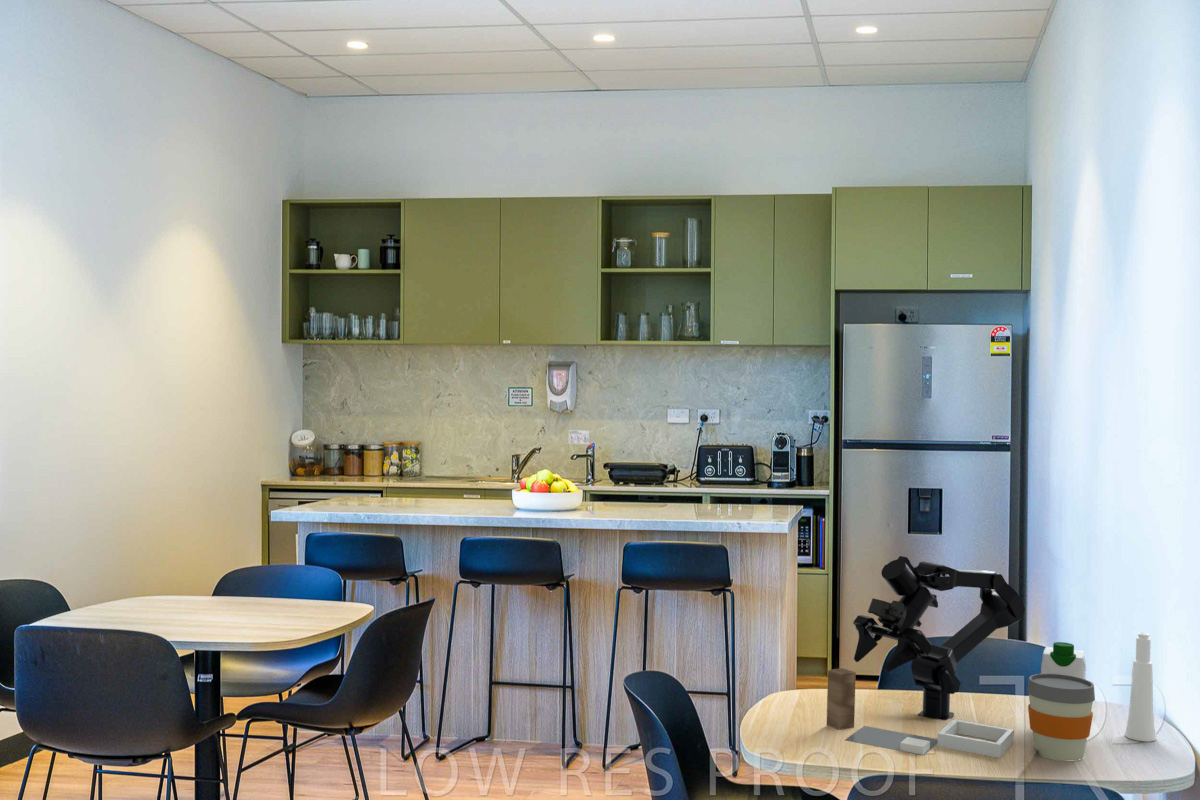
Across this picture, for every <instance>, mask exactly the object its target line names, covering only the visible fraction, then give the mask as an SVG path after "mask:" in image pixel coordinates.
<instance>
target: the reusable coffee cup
mask: <svg viewBox="0 0 1200 800" xmlns="http://www.w3.org/2000/svg"><path fill="white" fill-rule="evenodd" d="M1027 681H1028V682H1027V688H1026V690H1027V691H1026V692H1027V694H1028V700H1029V704H1028V706H1027V710H1028V719H1029V720H1028V721H1029V728H1030V731H1032V738H1033V739H1032V740H1033V747H1034V749H1036V751H1035V752H1034V753H1035V754H1037V755H1038V756H1040V757H1042V758H1046V759H1048V760H1049V759H1050V760H1053V761H1058V760H1079V759H1082V758H1083V759H1084V756H1085V749H1086V744H1087V738H1089V737H1090V735H1091V729H1092V722H1093V716H1094V713H1093V711H1092V708H1093V703H1094V702H1095V700H1096V694H1095V684H1094V682H1093V681H1090V680H1087V679H1086V680H1085V679H1082V678H1078V677H1074V676H1068V675H1061V674H1041V673H1036V674H1032V675H1030V676H1029V678H1028V680H1027ZM1083 759H1082V760H1083ZM1079 761H1080V760H1079Z"/></svg>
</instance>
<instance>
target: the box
mask: <svg viewBox="0 0 1200 800" xmlns="http://www.w3.org/2000/svg"><path fill="white" fill-rule="evenodd" d="M1014 733H1015V730H1014V729H1012V728H1006V727H1000V726H994V725H988V724H983V723H977V722H971V721H966V720H962V719H961V720H959V719H955V718H954V719H953V720H951V721H950V722H949V723H948V724H947V725H946V726H945V727H944V728H942V729H941V730H940V731H939V732H938V733H937V739H938V743H937V744H936V745H937V747H940V748H945V749H950V750H956V751H962V752H967V753H972V754H977V755H982V756H987V757H988V756H989V757H993V758H999V759H1000V758H1001V757H1003V755H1004V753H1005V752H1006V751H1008V749H1009V748H1010V747H1011V746H1013V744H1014V743H1015V742H1014V741H1015V740H1014V736H1015V735H1014ZM962 735H963V736H962ZM969 736H970V738H968V737H969ZM974 738H978V739H974ZM980 739H985V740H988V741H985V740H980ZM989 740H990V741H989ZM991 740H992V741H991ZM995 741H996V742H995Z"/></svg>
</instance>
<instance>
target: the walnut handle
mask: <svg viewBox="0 0 1200 800" xmlns="http://www.w3.org/2000/svg"><path fill="white" fill-rule="evenodd" d="M856 676H857V675H856V672H855V671H853V670H850V669H846V668H844V667H842V668H841V667H840V668H832V669H828V670H827V691H826V692H827V693H826V694H827V698H826V702H827V703H826V726H829V727H831V728H834V729H836V730H839V731H841V730H846V729H847V730H848V729H853V728H855V712H856V711H855V709H856V708H855V707H856V681H857V680H856Z"/></svg>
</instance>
